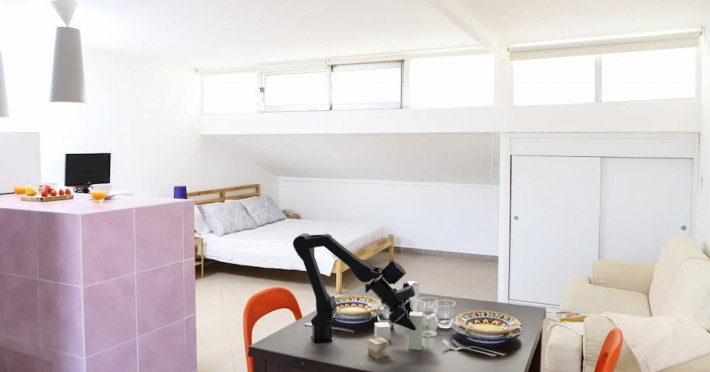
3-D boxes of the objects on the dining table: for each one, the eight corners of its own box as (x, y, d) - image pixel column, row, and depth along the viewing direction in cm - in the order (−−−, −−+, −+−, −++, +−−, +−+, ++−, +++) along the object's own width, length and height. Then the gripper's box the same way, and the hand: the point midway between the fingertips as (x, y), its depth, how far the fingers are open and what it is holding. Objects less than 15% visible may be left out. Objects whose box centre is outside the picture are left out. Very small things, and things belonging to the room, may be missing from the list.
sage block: (408, 348, 193) (409, 315, 192) (409, 344, 198) (410, 311, 197) (421, 349, 192) (422, 316, 191) (422, 345, 197) (423, 312, 196)
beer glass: (417, 323, 221) (418, 286, 219) (400, 322, 222) (401, 285, 221) (419, 317, 227) (420, 282, 226) (402, 316, 229) (403, 280, 228)
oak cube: (376, 358, 184) (376, 344, 184) (368, 353, 188) (368, 339, 188) (388, 355, 187) (388, 341, 187) (380, 351, 191) (380, 337, 191)
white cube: (376, 340, 201) (376, 327, 201) (374, 335, 206) (374, 322, 206) (390, 340, 202) (390, 326, 202) (387, 335, 207) (387, 322, 206)
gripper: (398, 284, 185) (431, 318, 184) (404, 271, 203) (434, 302, 202) (375, 306, 187) (407, 340, 186) (382, 291, 205) (412, 322, 204)
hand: (416, 325), depth 194 cm, fingers open, 9 cm apart
